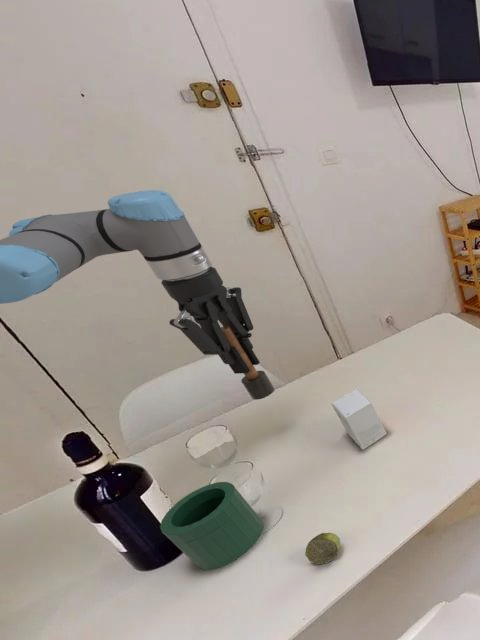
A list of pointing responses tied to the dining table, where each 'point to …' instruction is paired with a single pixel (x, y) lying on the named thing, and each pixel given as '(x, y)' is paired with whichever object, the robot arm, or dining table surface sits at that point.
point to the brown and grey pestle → (253, 379)
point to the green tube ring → (212, 525)
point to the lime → (323, 548)
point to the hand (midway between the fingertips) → (247, 367)
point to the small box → (359, 418)
